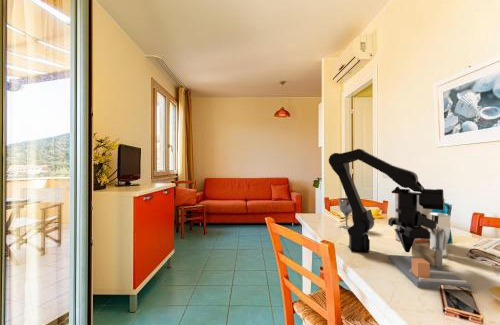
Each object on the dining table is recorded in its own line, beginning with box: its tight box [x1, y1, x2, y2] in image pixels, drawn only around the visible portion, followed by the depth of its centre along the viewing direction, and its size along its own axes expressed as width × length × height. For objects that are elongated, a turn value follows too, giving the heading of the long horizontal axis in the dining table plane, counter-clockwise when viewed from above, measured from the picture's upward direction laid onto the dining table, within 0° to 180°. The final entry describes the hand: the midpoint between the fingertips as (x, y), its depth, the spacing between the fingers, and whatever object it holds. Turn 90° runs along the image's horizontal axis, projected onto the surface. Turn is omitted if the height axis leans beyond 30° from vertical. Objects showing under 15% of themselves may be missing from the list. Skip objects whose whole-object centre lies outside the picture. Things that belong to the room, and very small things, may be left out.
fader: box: [411, 258, 430, 278], centre depth 73 cm, size 3×4×4 cm
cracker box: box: [394, 193, 433, 244], centre depth 112 cm, size 14×6×21 cm, turn 102°
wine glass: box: [338, 197, 352, 230], centre depth 135 cm, size 8×8×15 cm
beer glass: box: [427, 211, 451, 258], centre depth 95 cm, size 7×7×15 cm
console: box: [388, 250, 472, 291], centre depth 79 cm, size 13×21×7 cm, turn 171°
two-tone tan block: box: [411, 242, 436, 266], centre depth 85 cm, size 10×1×4 cm, turn 7°
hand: (407, 251), depth 89 cm, fingers closed
